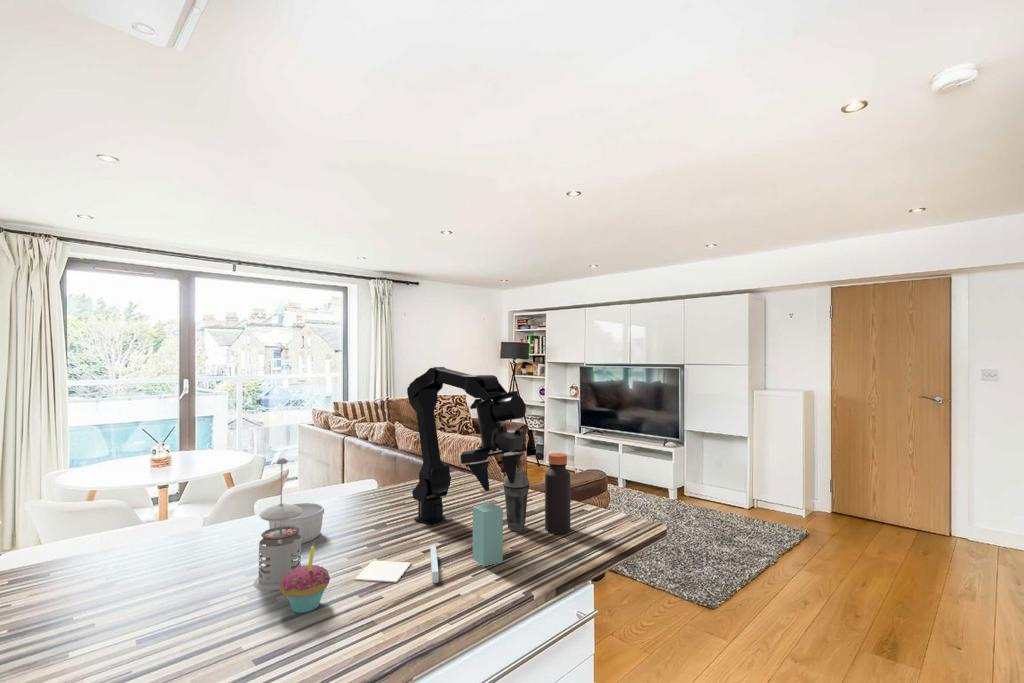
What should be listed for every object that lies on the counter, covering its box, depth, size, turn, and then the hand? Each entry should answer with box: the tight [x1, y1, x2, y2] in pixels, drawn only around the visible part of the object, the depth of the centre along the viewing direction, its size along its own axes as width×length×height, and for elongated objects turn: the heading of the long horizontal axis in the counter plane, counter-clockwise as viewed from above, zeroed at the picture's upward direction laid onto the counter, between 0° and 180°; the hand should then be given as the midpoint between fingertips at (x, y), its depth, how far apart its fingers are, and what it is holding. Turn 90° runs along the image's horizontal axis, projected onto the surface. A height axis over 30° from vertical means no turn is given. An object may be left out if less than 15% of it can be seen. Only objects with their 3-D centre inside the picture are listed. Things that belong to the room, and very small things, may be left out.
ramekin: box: [268, 502, 325, 546], centre depth 123 cm, size 13×13×7 cm
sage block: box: [472, 502, 504, 568], centre depth 109 cm, size 5×5×12 cm
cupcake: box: [279, 542, 331, 614], centre depth 89 cm, size 9×8×12 cm
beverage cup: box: [502, 466, 531, 532], centre depth 130 cm, size 7×7×20 cm
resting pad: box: [354, 560, 412, 584], centre depth 103 cm, size 9×9×1 cm
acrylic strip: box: [429, 545, 439, 584], centre depth 105 cm, size 14×1×2 cm, turn 11°
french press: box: [252, 457, 302, 592], centre depth 101 cm, size 10×12×25 cm
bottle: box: [544, 452, 572, 535], centre depth 129 cm, size 7×7×20 cm
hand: (500, 486), depth 120 cm, fingers open, 9 cm apart
